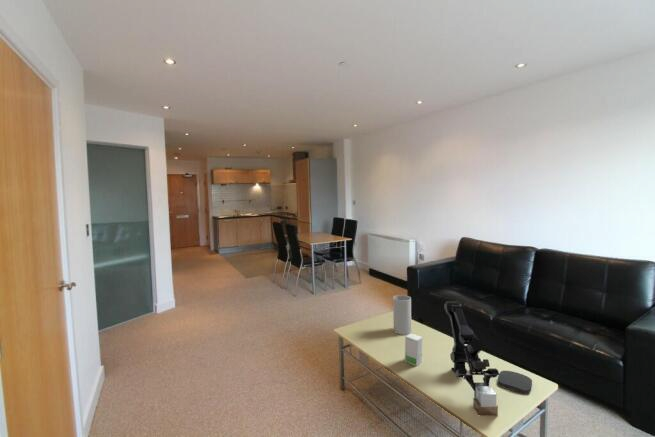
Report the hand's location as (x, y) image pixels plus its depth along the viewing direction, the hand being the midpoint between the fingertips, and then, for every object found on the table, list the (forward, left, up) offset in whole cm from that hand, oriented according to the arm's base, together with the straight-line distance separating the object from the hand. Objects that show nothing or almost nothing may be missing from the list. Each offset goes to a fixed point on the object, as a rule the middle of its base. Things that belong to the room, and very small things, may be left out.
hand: (482, 392), depth 147 cm
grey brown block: (+4, -1, -7) cm, 8 cm away
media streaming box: (-14, +27, -7) cm, 31 cm away
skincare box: (-43, -16, -7) cm, 46 cm away
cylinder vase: (-84, -8, -7) cm, 84 cm away
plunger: (+1, 0, -4) cm, 4 cm away
